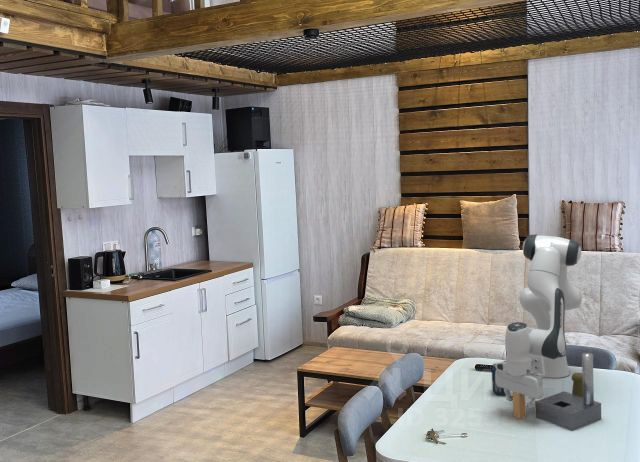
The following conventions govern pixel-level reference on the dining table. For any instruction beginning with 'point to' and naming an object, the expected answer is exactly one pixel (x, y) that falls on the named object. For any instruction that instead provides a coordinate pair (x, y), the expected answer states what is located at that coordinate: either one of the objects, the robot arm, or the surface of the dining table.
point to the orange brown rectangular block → (518, 405)
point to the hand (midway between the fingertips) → (519, 403)
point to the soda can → (496, 389)
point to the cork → (577, 384)
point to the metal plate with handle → (572, 403)
